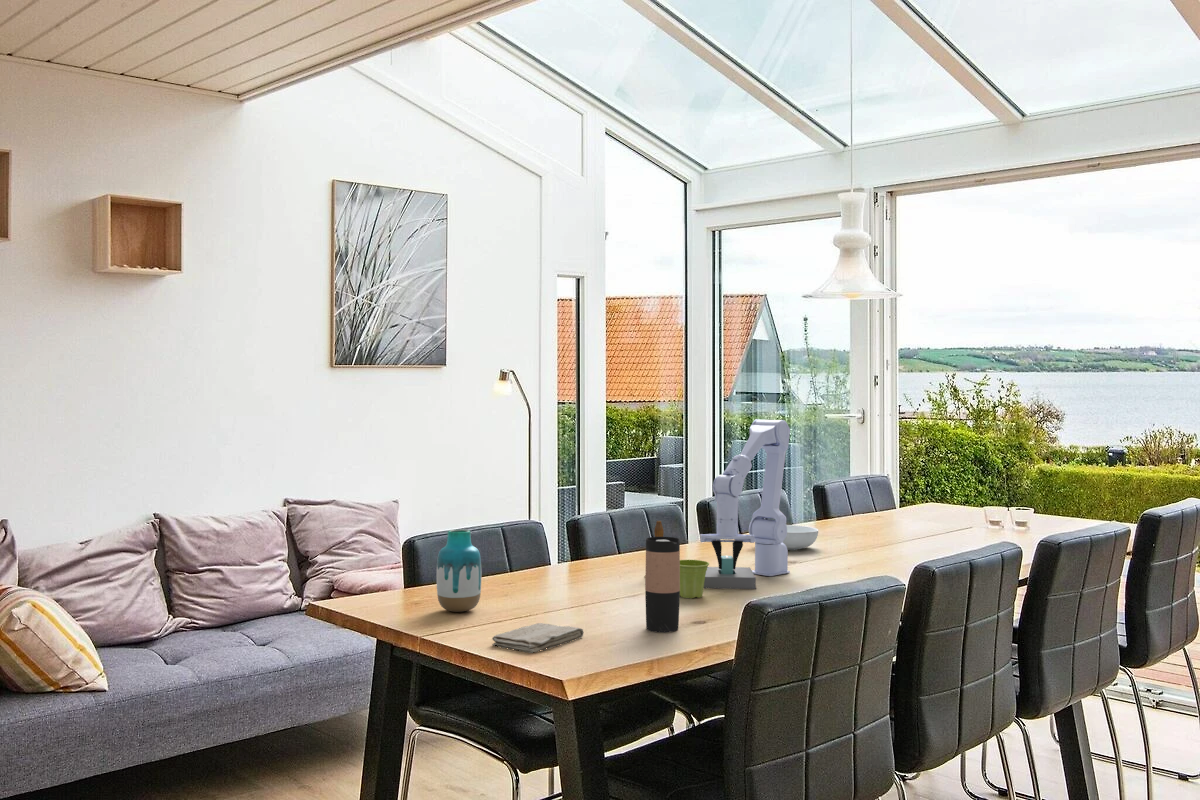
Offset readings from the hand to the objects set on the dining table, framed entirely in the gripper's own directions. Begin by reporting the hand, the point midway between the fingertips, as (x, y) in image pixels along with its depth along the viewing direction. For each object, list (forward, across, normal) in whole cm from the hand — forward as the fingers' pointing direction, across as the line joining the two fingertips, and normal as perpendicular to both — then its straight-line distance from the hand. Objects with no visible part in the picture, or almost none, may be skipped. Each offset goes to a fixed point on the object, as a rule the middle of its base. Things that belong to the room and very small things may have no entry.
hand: (726, 568), depth 298 cm
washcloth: (+5, -45, -70) cm, 83 cm away
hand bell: (+4, -18, +7) cm, 20 cm away
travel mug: (+4, -18, -57) cm, 60 cm away
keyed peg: (+4, 0, 0) cm, 4 cm away
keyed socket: (+4, 0, 0) cm, 4 cm away
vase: (+4, -66, -41) cm, 78 cm away
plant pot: (+4, -11, -19) cm, 22 cm away
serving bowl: (+4, +24, +64) cm, 68 cm away
